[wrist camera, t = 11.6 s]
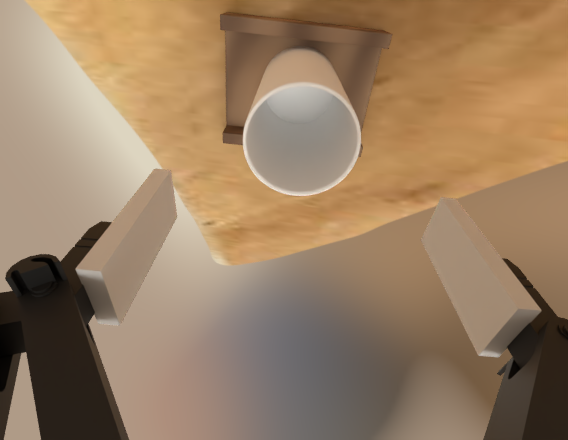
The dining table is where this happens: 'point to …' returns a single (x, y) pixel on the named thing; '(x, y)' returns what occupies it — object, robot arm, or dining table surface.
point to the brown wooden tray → (284, 34)
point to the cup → (301, 125)
